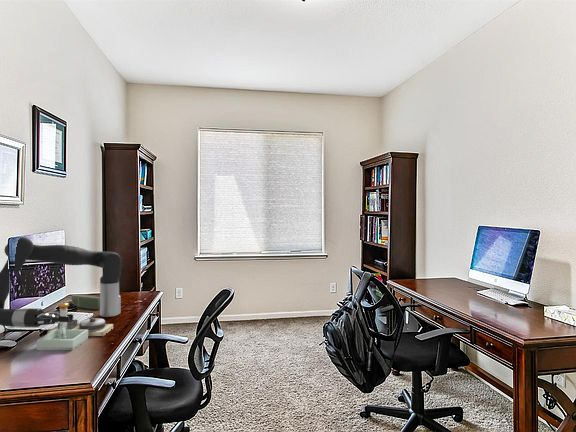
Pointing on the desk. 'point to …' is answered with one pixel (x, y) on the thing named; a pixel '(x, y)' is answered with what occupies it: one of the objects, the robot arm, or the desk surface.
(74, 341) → the tray
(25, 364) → the desk surface
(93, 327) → the tensioner bracket
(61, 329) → the orange capped tube
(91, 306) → the handheld radio
